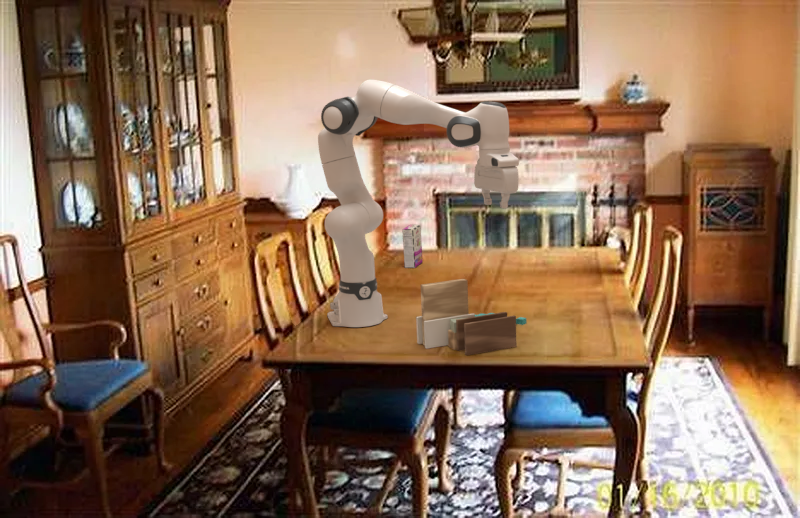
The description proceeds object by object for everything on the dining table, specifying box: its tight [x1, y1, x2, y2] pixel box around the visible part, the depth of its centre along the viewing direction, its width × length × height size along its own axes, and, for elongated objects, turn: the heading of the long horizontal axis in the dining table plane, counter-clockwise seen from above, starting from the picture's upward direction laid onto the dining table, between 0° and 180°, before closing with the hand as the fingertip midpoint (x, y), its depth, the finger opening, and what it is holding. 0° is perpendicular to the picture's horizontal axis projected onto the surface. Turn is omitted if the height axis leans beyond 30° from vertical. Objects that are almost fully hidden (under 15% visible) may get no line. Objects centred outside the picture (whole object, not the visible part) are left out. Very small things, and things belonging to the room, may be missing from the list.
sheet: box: [420, 278, 469, 346], centre depth 269 cm, size 2×14×18 cm, turn 113°
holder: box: [415, 313, 476, 350], centre depth 270 cm, size 6×16×8 cm, turn 113°
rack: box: [456, 311, 517, 356], centre depth 262 cm, size 6×16×9 cm, turn 113°
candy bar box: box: [401, 224, 423, 269], centre depth 381 cm, size 11×5×16 cm, turn 162°
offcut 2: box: [450, 317, 467, 333], centre depth 264 cm, size 4×5×3 cm
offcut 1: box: [448, 330, 458, 351], centre depth 265 cm, size 4×6×5 cm, turn 113°
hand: (495, 206), depth 266 cm, fingers open, 8 cm apart
